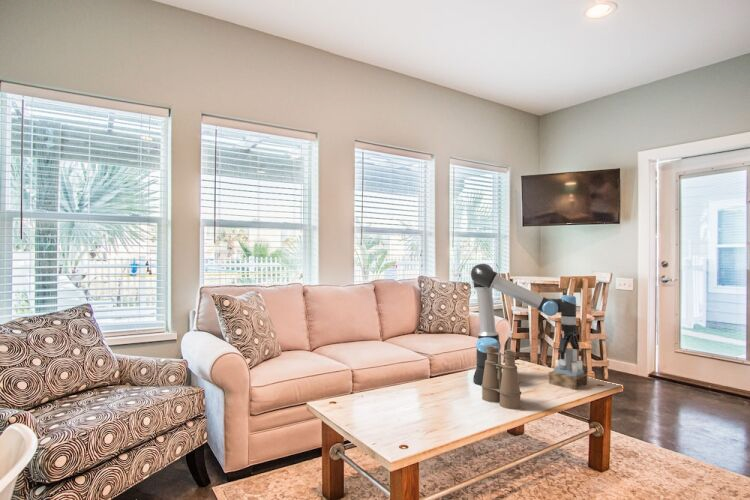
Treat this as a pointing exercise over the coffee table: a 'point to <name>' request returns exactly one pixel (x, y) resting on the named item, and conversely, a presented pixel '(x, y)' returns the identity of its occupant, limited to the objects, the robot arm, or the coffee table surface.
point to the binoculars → (501, 379)
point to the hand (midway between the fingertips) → (568, 363)
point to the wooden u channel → (568, 379)
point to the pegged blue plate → (569, 365)
